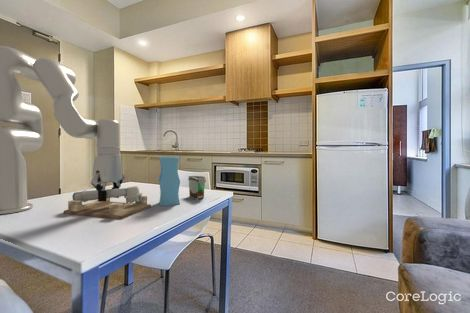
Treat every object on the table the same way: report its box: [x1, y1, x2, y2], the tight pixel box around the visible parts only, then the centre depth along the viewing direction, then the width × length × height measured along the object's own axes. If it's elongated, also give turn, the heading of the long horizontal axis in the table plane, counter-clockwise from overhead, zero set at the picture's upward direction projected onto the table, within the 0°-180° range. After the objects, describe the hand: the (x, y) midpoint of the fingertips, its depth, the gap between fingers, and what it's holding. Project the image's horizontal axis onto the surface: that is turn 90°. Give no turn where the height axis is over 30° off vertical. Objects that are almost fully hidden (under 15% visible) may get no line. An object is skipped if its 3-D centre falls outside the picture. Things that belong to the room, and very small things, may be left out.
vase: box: [158, 156, 181, 207], centre depth 96 cm, size 8×8×20 cm
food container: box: [188, 175, 207, 201], centre depth 108 cm, size 12×6×10 cm, turn 34°
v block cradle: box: [63, 195, 152, 220], centre depth 85 cm, size 25×16×4 cm, turn 76°
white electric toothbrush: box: [71, 185, 143, 203], centre depth 85 cm, size 5×7×25 cm
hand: (109, 198), depth 85 cm, fingers closed on white electric toothbrush, 5 cm apart
